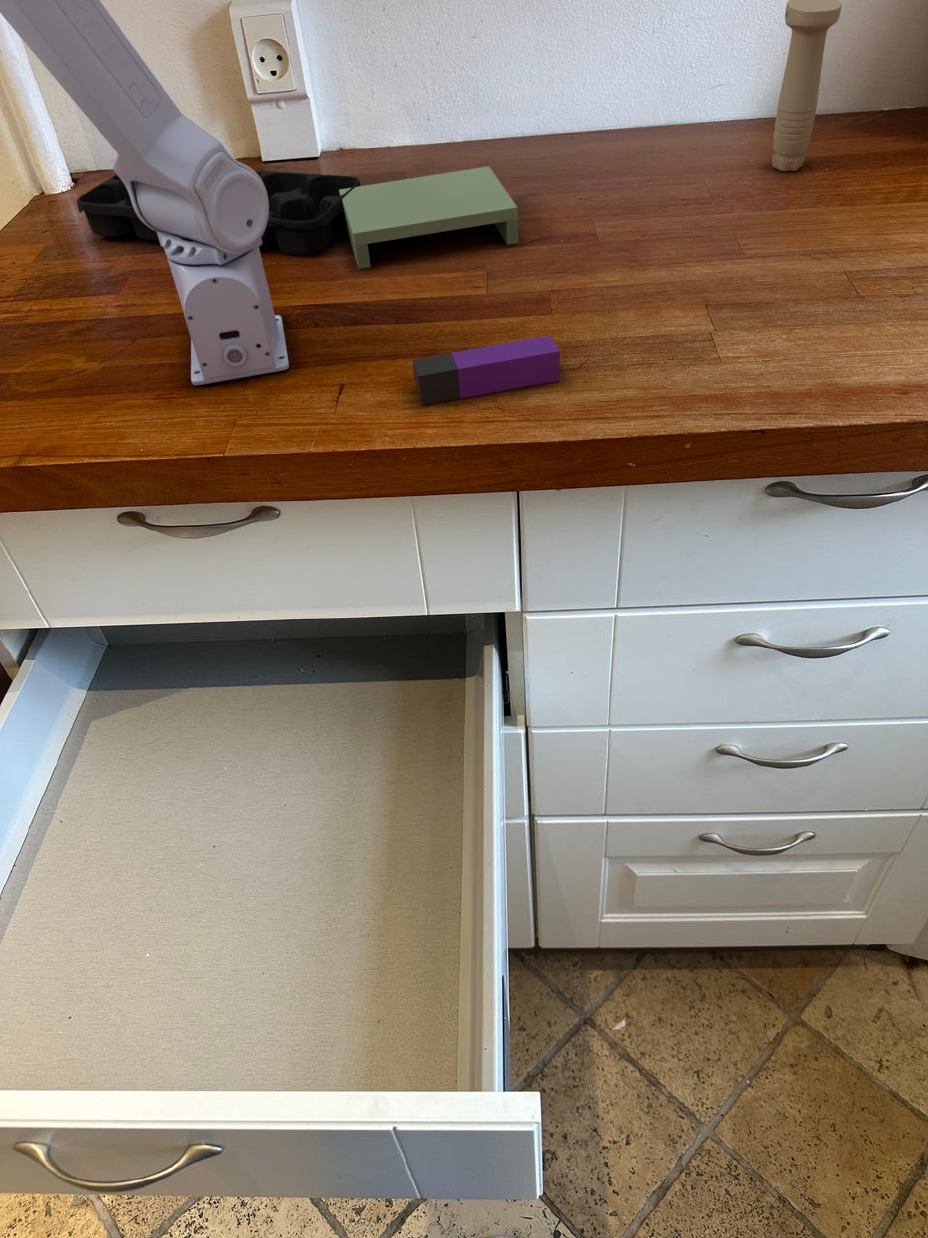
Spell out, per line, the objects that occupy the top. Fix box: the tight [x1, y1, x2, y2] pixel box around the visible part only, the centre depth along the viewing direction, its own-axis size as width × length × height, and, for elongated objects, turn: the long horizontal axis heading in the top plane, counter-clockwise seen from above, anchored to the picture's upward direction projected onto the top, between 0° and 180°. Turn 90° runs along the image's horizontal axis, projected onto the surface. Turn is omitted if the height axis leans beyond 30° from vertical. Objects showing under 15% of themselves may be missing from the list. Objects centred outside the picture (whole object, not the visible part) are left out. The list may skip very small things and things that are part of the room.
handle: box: [771, 0, 843, 172], centre depth 94 cm, size 5×6×15 cm
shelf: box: [339, 165, 520, 270], centre depth 92 cm, size 12×16×4 cm
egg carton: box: [76, 169, 362, 256], centre depth 97 cm, size 18×30×4 cm, turn 83°
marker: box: [412, 335, 561, 407], centre depth 71 cm, size 3×11×3 cm, turn 102°
